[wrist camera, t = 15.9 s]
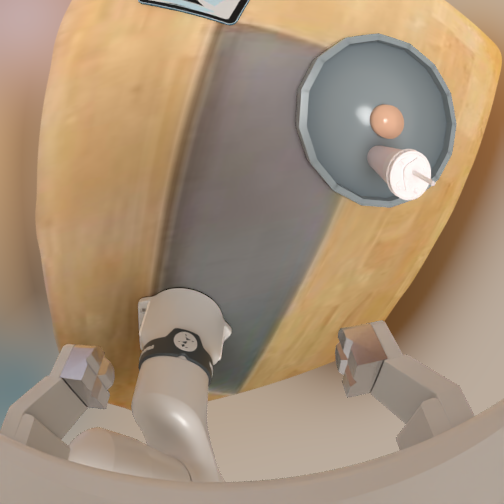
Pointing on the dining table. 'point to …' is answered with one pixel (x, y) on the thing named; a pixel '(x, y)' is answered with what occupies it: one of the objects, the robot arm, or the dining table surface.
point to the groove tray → (372, 113)
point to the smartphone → (205, 8)
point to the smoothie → (401, 170)
